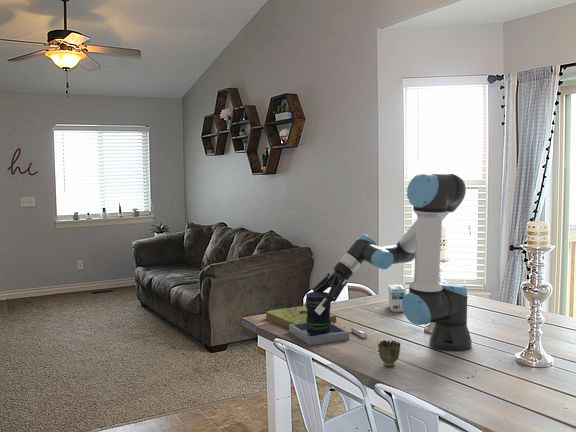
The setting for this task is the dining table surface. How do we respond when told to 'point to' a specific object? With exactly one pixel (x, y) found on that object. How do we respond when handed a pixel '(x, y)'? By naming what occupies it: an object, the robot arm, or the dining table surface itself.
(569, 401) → the dining table surface
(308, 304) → the storage jar
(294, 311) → the miniature landscape model
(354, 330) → the rod
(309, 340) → the tray
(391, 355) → the cup
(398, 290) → the light bulb box
